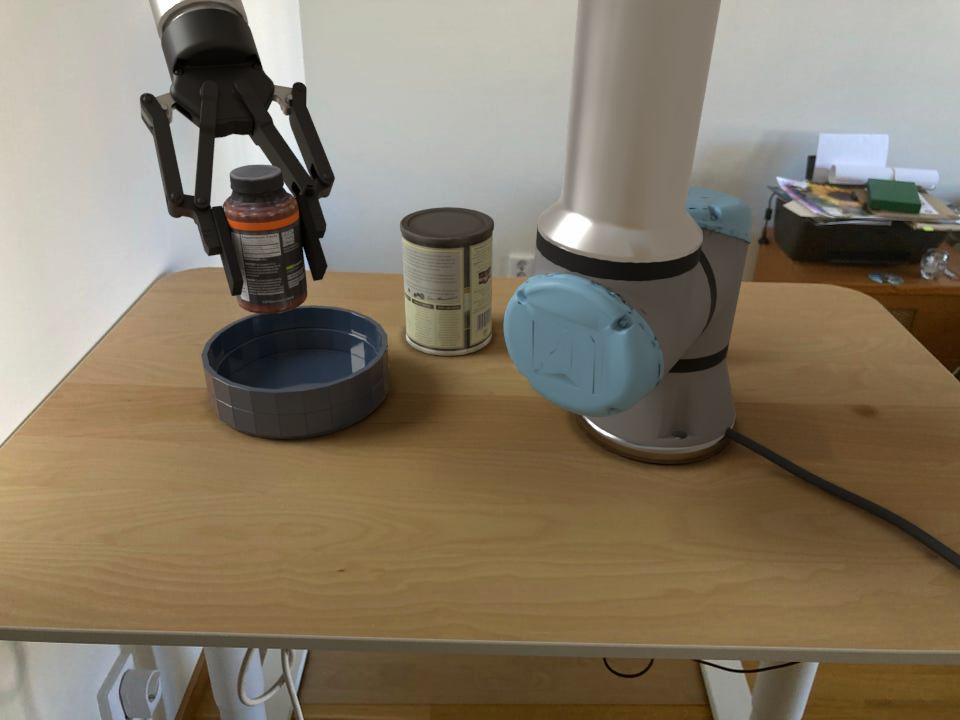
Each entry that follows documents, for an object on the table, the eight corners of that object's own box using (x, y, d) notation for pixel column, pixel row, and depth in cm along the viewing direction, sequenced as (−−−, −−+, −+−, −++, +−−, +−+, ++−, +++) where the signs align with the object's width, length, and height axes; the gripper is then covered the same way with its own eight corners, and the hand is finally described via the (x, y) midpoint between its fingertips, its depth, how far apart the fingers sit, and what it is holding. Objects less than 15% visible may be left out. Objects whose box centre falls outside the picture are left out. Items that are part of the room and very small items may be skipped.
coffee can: (412, 314, 96) (408, 204, 90) (494, 318, 96) (497, 208, 89) (397, 354, 88) (391, 236, 81) (488, 359, 87) (490, 240, 80)
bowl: (426, 383, 82) (424, 337, 79) (292, 466, 69) (285, 414, 67) (309, 333, 92) (304, 291, 89) (173, 398, 79) (163, 351, 76)
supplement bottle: (251, 285, 69) (233, 158, 63) (316, 289, 68) (304, 161, 63) (225, 315, 64) (203, 179, 58) (296, 319, 63) (281, 183, 58)
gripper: (307, 56, 73) (380, 278, 69) (89, 70, 65) (155, 321, 61) (320, -1, 67) (402, 241, 62) (78, 7, 59) (152, 284, 54)
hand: (279, 280), depth 62 cm, fingers closed on supplement bottle, 6 cm apart
